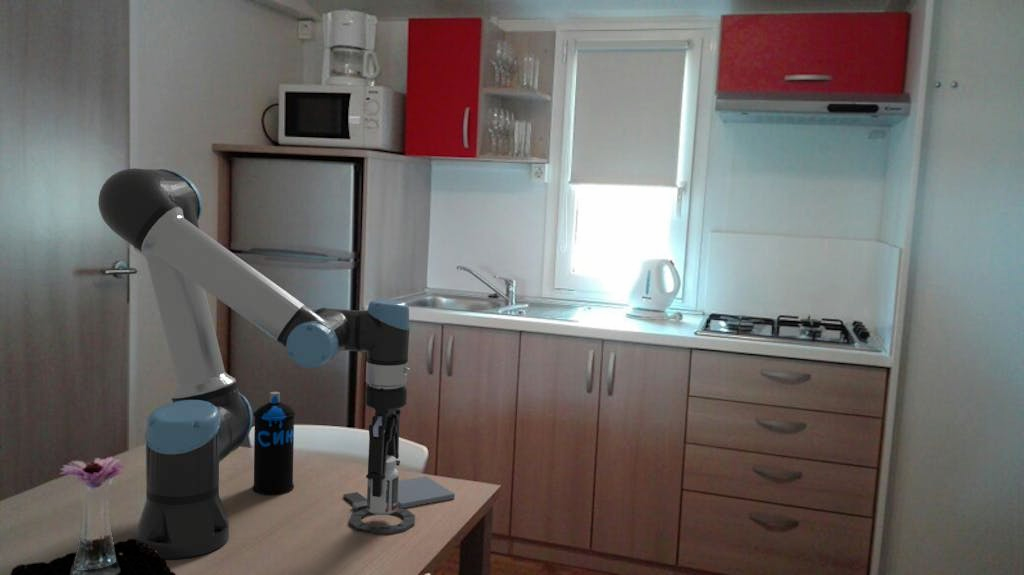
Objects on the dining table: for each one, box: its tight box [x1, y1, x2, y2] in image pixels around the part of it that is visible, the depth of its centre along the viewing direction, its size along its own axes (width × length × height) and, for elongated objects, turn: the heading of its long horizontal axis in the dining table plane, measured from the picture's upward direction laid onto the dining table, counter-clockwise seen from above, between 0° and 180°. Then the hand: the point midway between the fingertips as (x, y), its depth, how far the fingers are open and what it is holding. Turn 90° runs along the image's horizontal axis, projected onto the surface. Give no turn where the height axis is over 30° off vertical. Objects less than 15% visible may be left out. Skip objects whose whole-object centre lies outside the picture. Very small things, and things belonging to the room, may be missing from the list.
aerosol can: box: [252, 391, 296, 496], centre depth 173 cm, size 8×8×20 cm
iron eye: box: [342, 491, 416, 535], centre depth 163 cm, size 12×21×1 cm, turn 34°
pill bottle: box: [366, 455, 399, 516], centre depth 159 cm, size 6×6×10 cm
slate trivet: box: [398, 475, 456, 509], centre depth 175 cm, size 12×12×1 cm
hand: (382, 505), depth 159 cm, fingers closed on pill bottle, 6 cm apart
